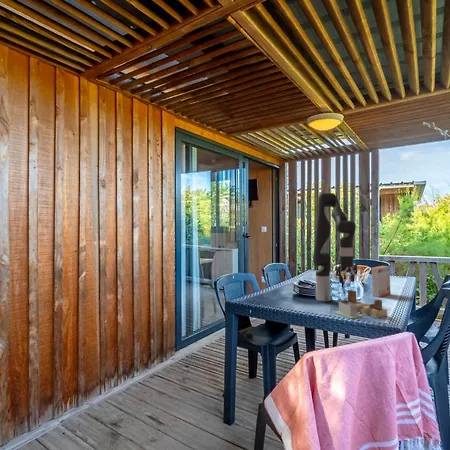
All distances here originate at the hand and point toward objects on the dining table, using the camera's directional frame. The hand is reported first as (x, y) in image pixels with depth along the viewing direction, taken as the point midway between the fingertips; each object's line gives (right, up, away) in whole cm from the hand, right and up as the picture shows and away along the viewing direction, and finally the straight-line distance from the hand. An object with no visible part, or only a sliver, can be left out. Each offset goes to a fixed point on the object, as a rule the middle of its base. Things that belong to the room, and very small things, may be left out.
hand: (347, 282), depth 184 cm
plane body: (+12, -19, +4) cm, 23 cm away
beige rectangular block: (+1, -18, 0) cm, 18 cm away
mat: (+1, -19, 0) cm, 19 cm away
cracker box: (+43, -18, +45) cm, 64 cm away
